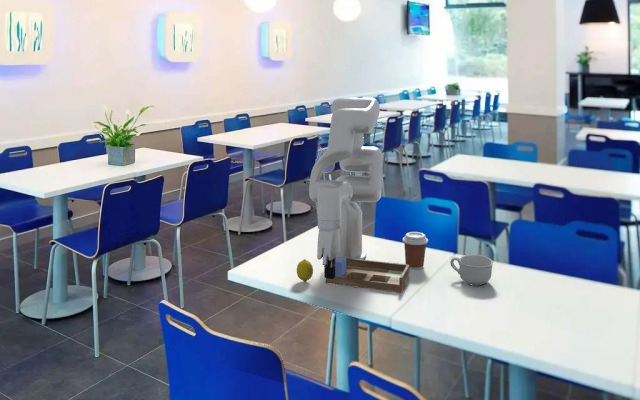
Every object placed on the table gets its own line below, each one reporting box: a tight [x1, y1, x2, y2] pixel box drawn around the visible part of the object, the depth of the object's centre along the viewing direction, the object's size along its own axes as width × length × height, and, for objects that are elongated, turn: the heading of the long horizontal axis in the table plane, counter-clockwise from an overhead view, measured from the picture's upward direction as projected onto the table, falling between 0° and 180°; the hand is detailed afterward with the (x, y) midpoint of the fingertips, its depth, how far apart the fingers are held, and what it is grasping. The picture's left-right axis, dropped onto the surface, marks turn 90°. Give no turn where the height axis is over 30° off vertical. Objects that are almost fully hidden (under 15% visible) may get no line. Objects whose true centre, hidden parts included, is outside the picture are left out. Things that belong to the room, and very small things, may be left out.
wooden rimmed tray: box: [324, 257, 411, 293], centre depth 191 cm, size 13×26×5 cm, turn 70°
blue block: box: [335, 257, 346, 277], centre depth 191 cm, size 5×5×5 cm
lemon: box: [296, 259, 314, 283], centre depth 191 cm, size 6×6×8 cm
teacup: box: [449, 254, 494, 286], centre depth 190 cm, size 14×11×8 cm
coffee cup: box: [402, 231, 429, 270], centre depth 204 cm, size 9×9×12 cm
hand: (329, 277), depth 185 cm, fingers closed
